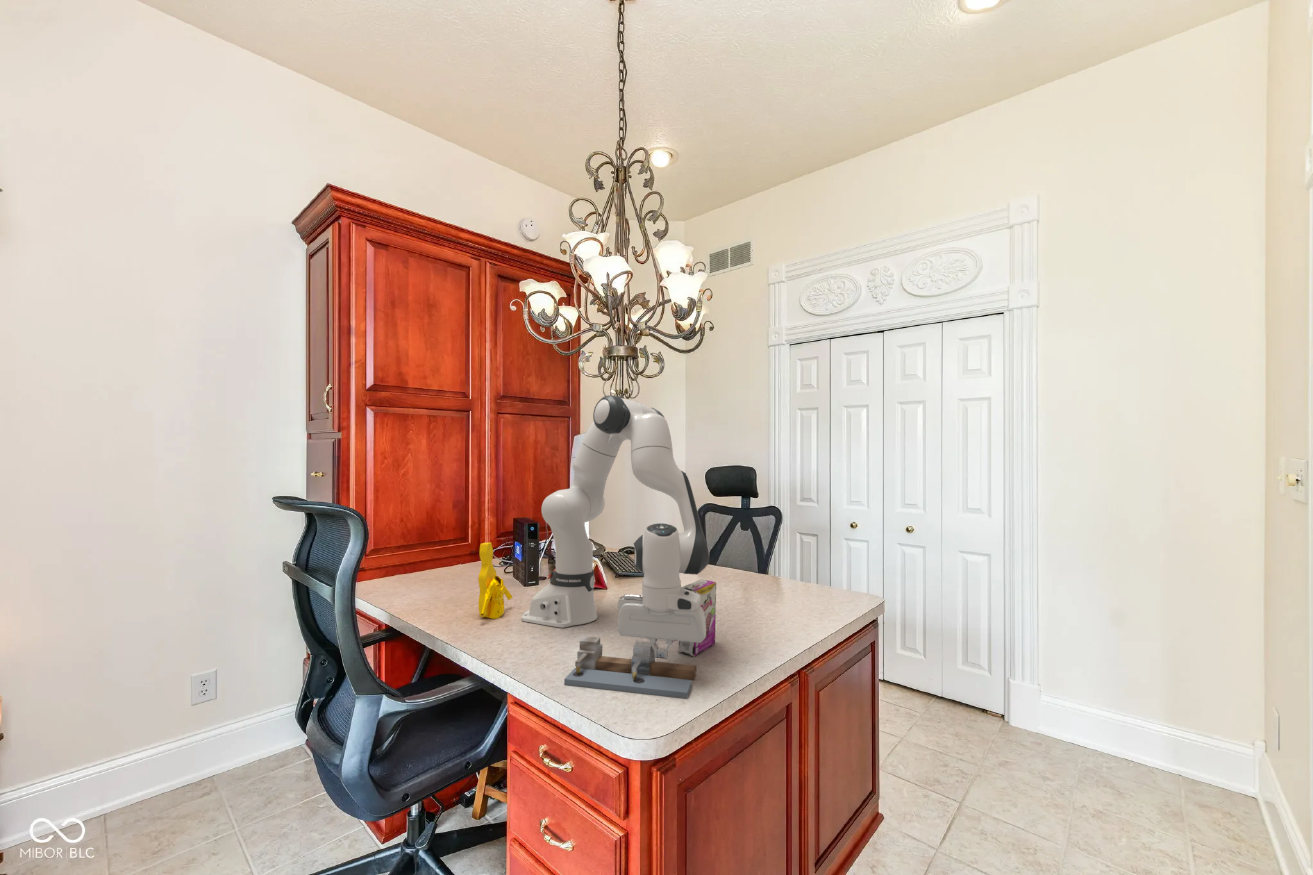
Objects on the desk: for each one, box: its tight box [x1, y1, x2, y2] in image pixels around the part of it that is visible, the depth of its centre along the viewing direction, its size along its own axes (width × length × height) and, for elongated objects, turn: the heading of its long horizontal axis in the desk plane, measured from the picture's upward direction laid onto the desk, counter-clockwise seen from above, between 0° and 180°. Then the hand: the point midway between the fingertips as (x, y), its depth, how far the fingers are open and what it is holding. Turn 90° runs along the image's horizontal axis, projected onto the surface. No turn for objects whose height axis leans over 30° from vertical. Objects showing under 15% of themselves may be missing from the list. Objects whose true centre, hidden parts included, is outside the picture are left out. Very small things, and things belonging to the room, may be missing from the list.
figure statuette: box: [477, 542, 514, 620], centre depth 163 cm, size 18×8×22 cm, turn 167°
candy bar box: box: [678, 579, 717, 657], centre depth 137 cm, size 11×5×16 cm, turn 146°
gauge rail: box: [574, 635, 697, 681], centre depth 121 cm, size 27×11×6 cm, turn 77°
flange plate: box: [563, 667, 693, 700], centre depth 116 cm, size 27×6×1 cm, turn 77°
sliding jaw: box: [630, 640, 656, 680], centre depth 120 cm, size 4×11×6 cm, turn 167°
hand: (661, 657), depth 122 cm, fingers closed
